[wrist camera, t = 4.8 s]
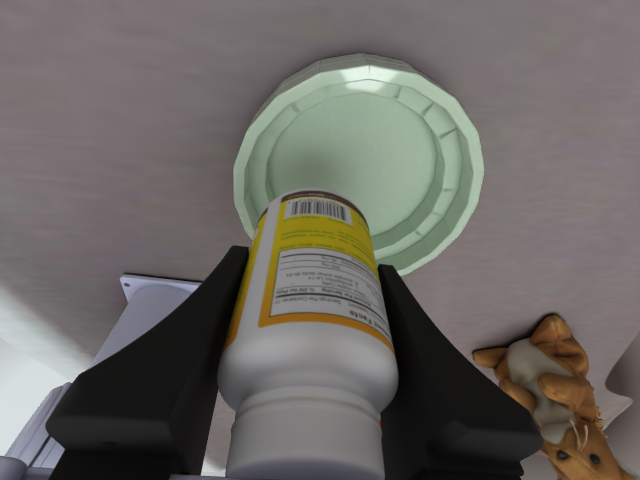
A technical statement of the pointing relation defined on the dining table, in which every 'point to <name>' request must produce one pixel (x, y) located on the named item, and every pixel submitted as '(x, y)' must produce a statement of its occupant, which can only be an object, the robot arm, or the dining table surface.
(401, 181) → the bowl
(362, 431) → the supplement bottle
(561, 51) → the dining table surface
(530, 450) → the robot arm
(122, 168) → the dining table surface
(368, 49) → the dining table surface
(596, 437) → the stuffed squirrel
